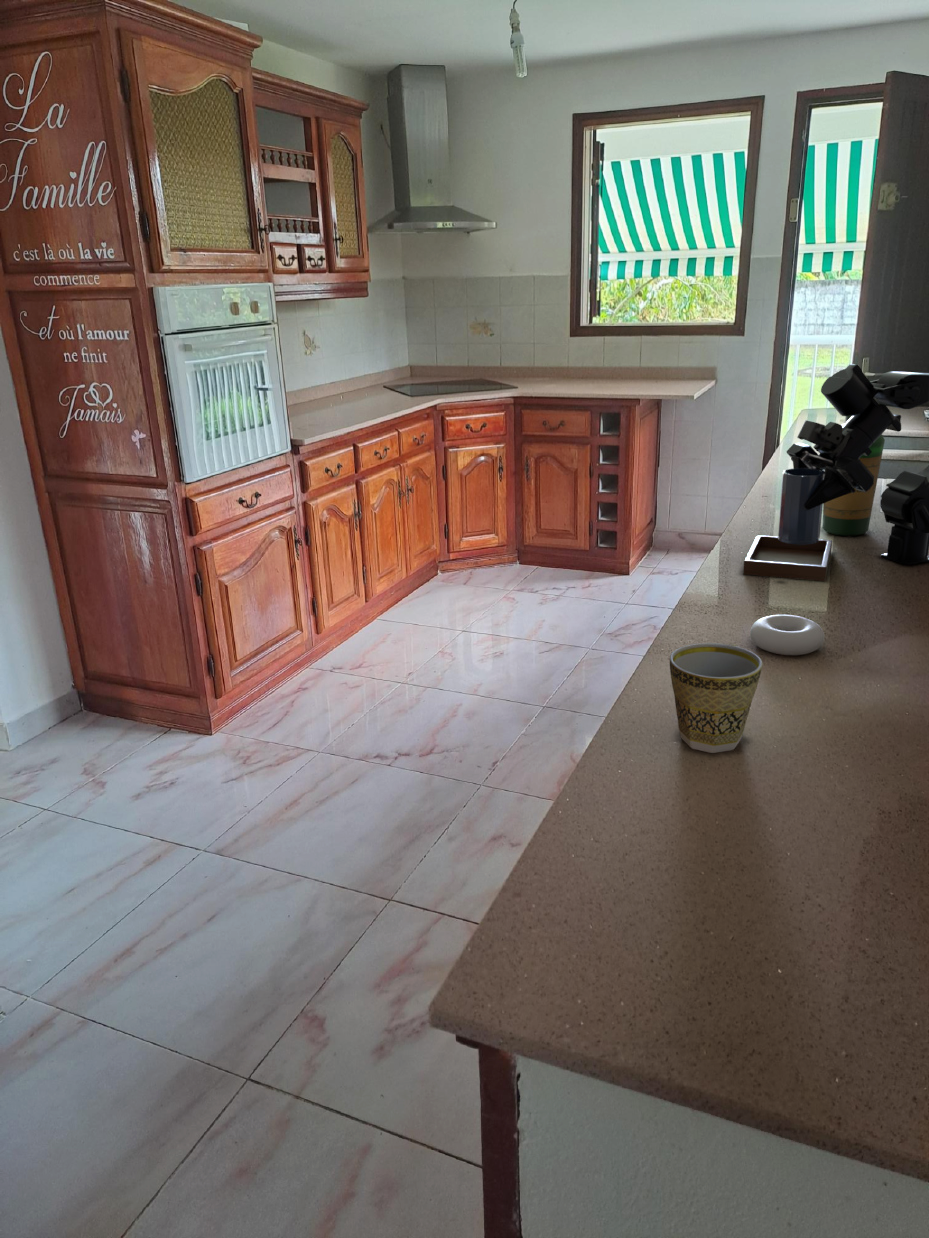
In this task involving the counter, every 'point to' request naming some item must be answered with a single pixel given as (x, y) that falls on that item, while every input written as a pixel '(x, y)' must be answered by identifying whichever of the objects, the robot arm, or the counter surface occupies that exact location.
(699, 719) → the ceramic cup
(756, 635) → the donut
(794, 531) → the cup
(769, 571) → the tray
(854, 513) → the bottle
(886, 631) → the counter surface
